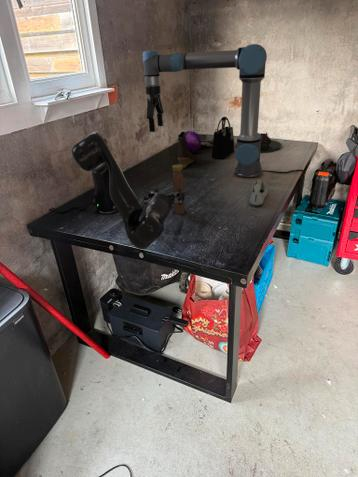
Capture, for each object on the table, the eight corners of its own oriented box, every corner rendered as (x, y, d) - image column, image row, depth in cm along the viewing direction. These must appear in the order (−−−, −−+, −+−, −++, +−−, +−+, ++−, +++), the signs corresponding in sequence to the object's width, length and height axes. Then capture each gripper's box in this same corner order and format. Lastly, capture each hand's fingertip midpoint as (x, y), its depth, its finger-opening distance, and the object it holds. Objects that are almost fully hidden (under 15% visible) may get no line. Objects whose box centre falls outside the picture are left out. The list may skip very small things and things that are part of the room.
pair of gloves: (199, 150, 238) (199, 143, 235) (184, 143, 258) (184, 136, 255) (235, 144, 247) (235, 137, 245) (218, 137, 268) (218, 131, 265)
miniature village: (250, 138, 260) (251, 126, 256) (289, 145, 237) (291, 132, 233) (223, 147, 242) (223, 134, 237) (263, 155, 219) (264, 141, 215)
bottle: (174, 214, 149) (171, 168, 138) (175, 209, 153) (172, 165, 142) (184, 214, 149) (182, 168, 138) (185, 209, 153) (182, 165, 142)
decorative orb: (204, 151, 235) (204, 129, 228) (194, 156, 225) (193, 134, 217) (186, 149, 243) (186, 128, 235) (175, 154, 232) (174, 132, 224)
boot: (196, 157, 223) (195, 127, 213) (189, 169, 203) (188, 135, 192) (183, 157, 225) (182, 127, 215) (176, 168, 204) (174, 136, 194)
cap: (171, 171, 139) (171, 167, 138) (172, 167, 143) (172, 164, 142) (182, 170, 139) (182, 167, 138) (182, 167, 142) (182, 164, 142)
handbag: (222, 159, 215) (223, 120, 203) (210, 158, 220) (210, 119, 207) (235, 151, 230) (236, 114, 218) (223, 150, 234) (224, 113, 222)
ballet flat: (269, 188, 169) (270, 173, 165) (265, 208, 149) (266, 191, 145) (252, 187, 171) (253, 172, 167) (246, 206, 151) (247, 190, 147)
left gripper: (178, 198, 107) (186, 181, 121) (136, 197, 109) (148, 180, 123) (179, 219, 110) (187, 200, 124) (139, 218, 113) (150, 199, 127)
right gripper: (153, 83, 178) (157, 124, 189) (137, 88, 157) (141, 134, 168) (167, 82, 176) (169, 123, 187) (151, 88, 156) (155, 134, 166)
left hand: (167, 190), depth 124 cm, fingers open, 8 cm apart
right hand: (156, 128), depth 177 cm, fingers open, 13 cm apart
